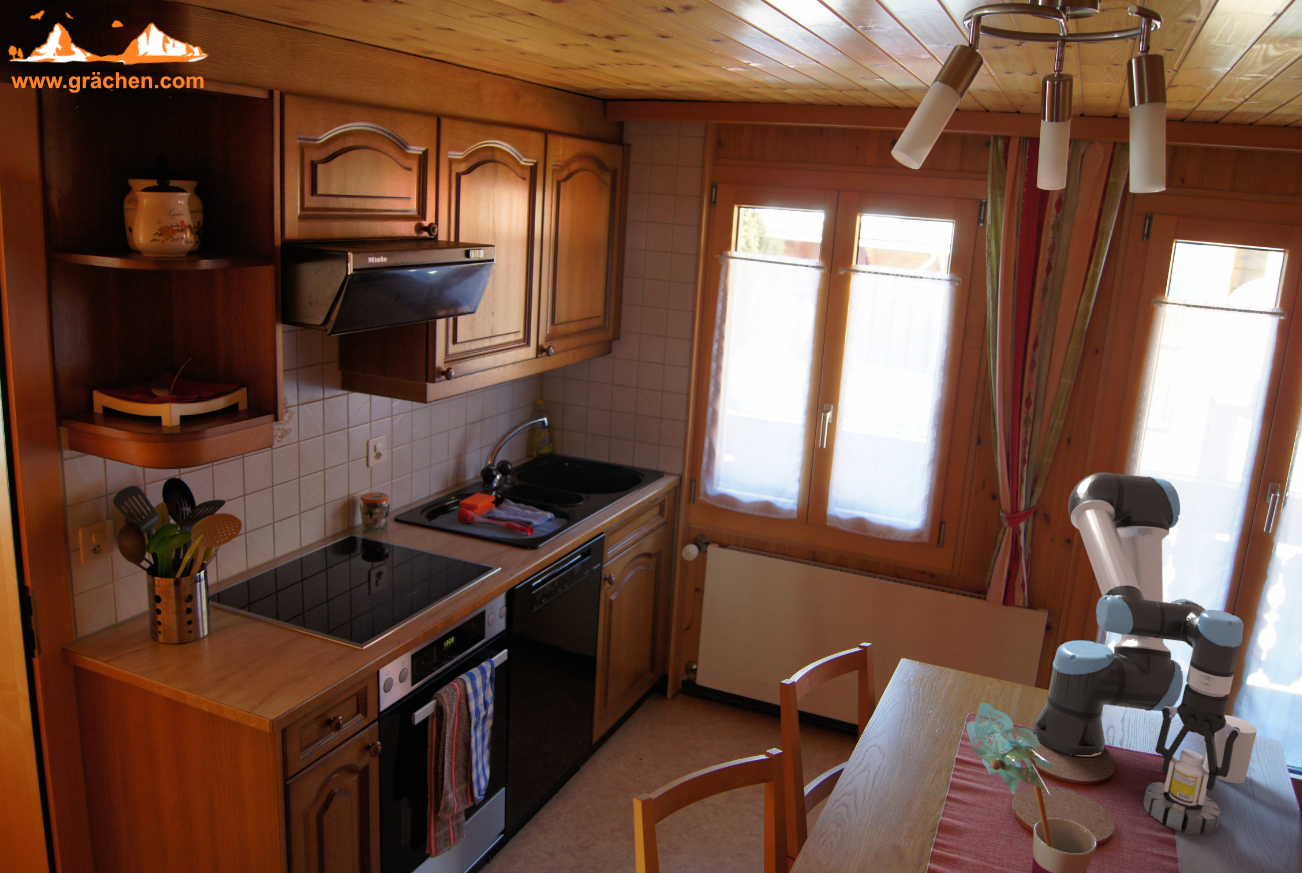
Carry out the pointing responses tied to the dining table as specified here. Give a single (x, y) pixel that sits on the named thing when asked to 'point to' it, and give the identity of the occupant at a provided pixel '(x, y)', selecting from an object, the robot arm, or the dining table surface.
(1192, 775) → the supplement bottle
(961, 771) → the dining table surface
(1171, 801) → the grey segmented ring
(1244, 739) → the white cylinder
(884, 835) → the dining table surface
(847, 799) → the dining table surface
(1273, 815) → the dining table surface
